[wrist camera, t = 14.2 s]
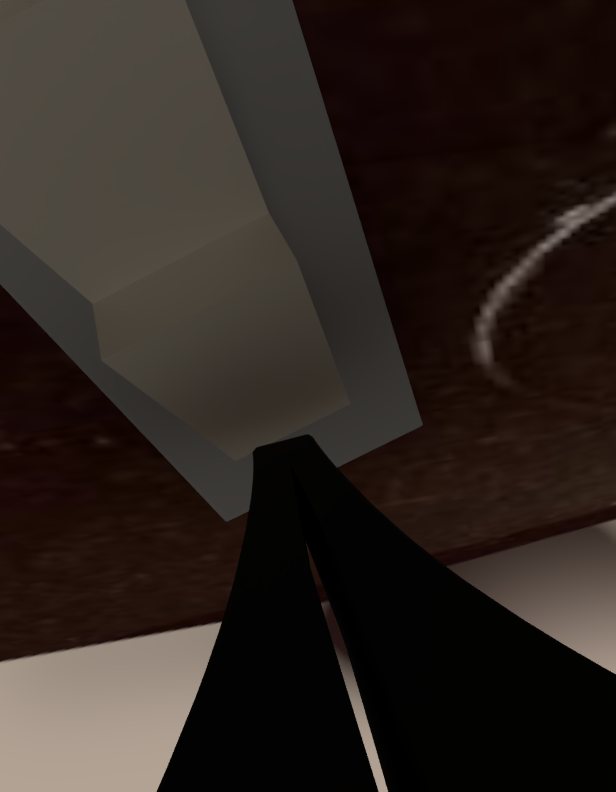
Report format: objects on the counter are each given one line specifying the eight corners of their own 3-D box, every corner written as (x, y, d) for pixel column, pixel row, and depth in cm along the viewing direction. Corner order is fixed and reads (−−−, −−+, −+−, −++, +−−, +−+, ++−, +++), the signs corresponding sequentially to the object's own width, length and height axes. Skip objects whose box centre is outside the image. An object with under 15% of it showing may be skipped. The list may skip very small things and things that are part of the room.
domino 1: (141, 312, 12) (-128, 46, 6) (274, 243, 12) (134, -97, 6) (153, 355, 12) (-144, 101, 5) (296, 283, 12) (159, -64, 5)
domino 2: (222, 420, 15) (91, 303, 9) (330, 366, 15) (268, 212, 9) (235, 461, 15) (101, 360, 9) (350, 403, 14) (296, 260, 8)
